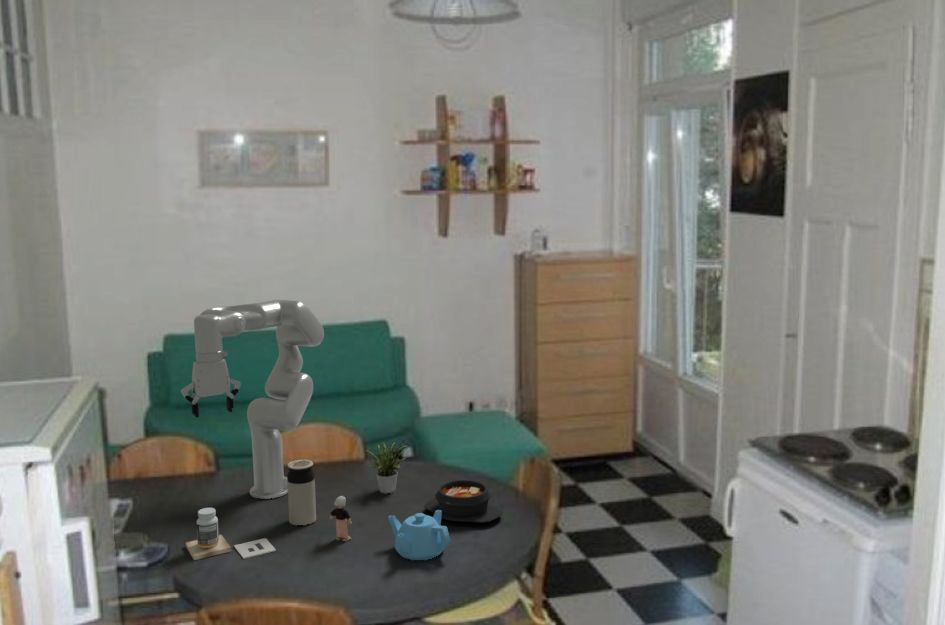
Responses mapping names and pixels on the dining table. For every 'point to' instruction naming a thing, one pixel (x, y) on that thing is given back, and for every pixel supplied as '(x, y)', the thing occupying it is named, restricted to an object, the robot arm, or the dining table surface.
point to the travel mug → (301, 492)
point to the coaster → (207, 549)
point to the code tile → (254, 548)
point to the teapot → (420, 536)
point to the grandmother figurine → (341, 518)
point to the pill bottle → (207, 528)
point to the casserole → (464, 502)
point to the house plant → (387, 468)
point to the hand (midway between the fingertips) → (213, 413)
